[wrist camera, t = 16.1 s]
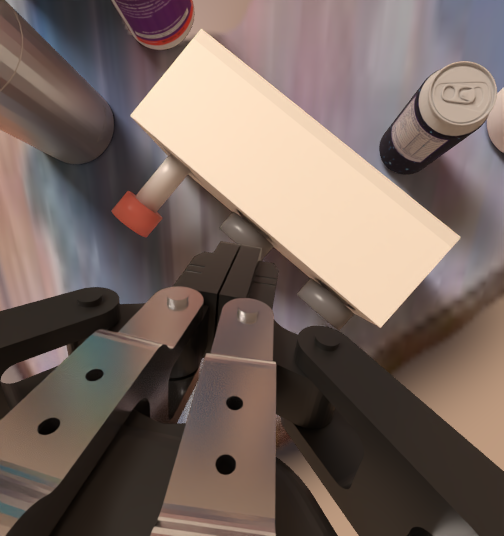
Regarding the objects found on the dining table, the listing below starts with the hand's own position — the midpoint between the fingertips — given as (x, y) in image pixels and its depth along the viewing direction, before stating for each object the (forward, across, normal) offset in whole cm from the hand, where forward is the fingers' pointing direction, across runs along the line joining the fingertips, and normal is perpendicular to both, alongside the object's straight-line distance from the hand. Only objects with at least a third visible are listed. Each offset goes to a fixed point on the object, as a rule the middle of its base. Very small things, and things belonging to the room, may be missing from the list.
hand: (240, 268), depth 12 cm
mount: (+26, +1, -5) cm, 27 cm away
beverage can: (+30, +13, +2) cm, 33 cm away
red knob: (+21, -11, -4) cm, 24 cm away
